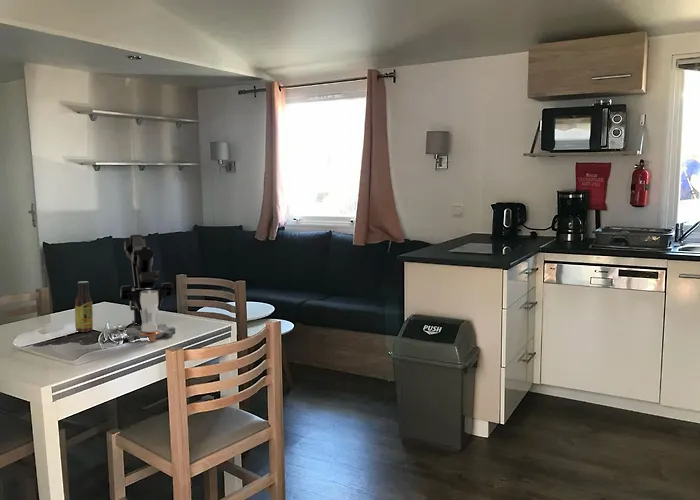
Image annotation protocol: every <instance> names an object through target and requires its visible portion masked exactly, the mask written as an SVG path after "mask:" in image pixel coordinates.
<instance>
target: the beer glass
mask: <svg viewBox="0 0 700 500" xmlns="http://www.w3.org/2000/svg"><path fill="white" fill-rule="evenodd" d="M158 294H159V293H158V291H157V290H144V291H140V297H139V304H140V312H141V317H142V327H141V326H140V327H141V331H142V332H155V331H158V321H157V320H158V314H159V296H158Z"/></svg>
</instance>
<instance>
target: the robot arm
mask: <svg viewBox="0 0 700 500" xmlns="http://www.w3.org/2000/svg"><path fill="white" fill-rule="evenodd" d="M146 244H147V243H146V239H145V237H144V236H143V235H142V234H131V235H129V237H128V238H127V239H124V246H123V247H124V252H126V257H127V258H128V259H129V260H130V262H131V268H132V269H131V270H132V279H133V285H132V284H131V285H121V286H120V293H119V294H120V300H123V301H124V300H126V301H128V302H129V309H130V311H133V320H132V321H131V323H132V324H133V323H137V324H135V325H134V326H140V325H142V317H141V312H140V304H139V297H140V291H144V290H157V291H158V296H159V308H158V310H161V306H162V302H163V300H164V299H166V298H167V297H172V295H173V292H174V284H173V283H171V282H164V283H163V282H162V283H161V285H160V286H158V287H156V286H155V285H156V280H159V279H160V278H161V277H160V276H161V275H160V270H157V269H156V270H153V269H152V267H153V263H154V262H153V261H154V260H155V258H156V255H155V254H154V252H153V250H151V248H150V247H149V246H147V245H146ZM138 324H139V325H138Z"/></svg>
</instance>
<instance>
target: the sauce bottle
mask: <svg viewBox="0 0 700 500" xmlns="http://www.w3.org/2000/svg"><path fill="white" fill-rule="evenodd" d="M89 285H90V282H89V281H85V280H84V281H83V280H82V281H78V282H77V295H76V297H75V300H74V302H75V303H74V304H75V305H74V314H75V315H74V316H75V319H74V320H75V324H74V325H75V326H74V327H75V332H76V331H78V332H86V333H88V332H87V331H91V330H92V331H93V328H94V327H93V326H94V320H93V300H92V297H91V296H90V291H89ZM92 331H91V332H92Z"/></svg>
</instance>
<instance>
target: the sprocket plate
mask: <svg viewBox="0 0 700 500" xmlns="http://www.w3.org/2000/svg"><path fill="white" fill-rule="evenodd" d="M157 326H158V331H155V332H142V331H141V327H142V325H139V326H136V327H127V328H125V329H126V330H127V331H126V334H127V335H128V336H129V337H128V338H129V339H130V340H136V339H140V338H147V337H148V338H149V340H150V341H148V342H149V343H153V342H157V341H158V340H163V339H171V338H173V335H174V334H176V327H175V326H167V324H157Z"/></svg>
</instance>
